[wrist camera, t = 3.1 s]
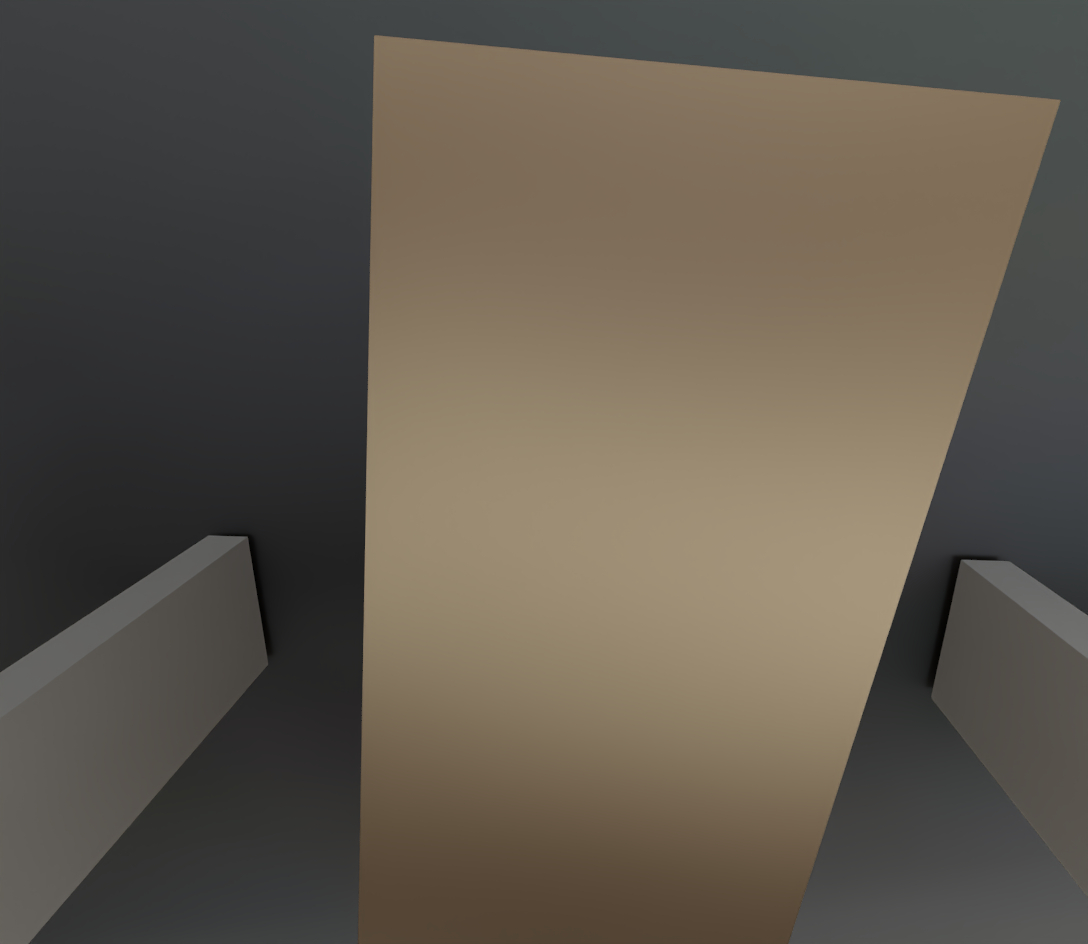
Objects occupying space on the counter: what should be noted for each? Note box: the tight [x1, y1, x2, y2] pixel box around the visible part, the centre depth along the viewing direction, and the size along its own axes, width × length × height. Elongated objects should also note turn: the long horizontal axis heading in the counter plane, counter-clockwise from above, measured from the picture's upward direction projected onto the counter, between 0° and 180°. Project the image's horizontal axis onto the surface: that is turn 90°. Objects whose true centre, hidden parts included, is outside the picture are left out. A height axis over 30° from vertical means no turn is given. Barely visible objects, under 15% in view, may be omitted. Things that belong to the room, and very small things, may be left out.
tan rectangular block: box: [358, 35, 1061, 944], centre depth 9 cm, size 14×4×6 cm, turn 174°
